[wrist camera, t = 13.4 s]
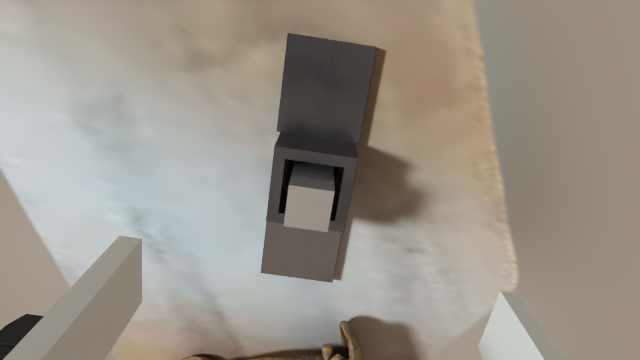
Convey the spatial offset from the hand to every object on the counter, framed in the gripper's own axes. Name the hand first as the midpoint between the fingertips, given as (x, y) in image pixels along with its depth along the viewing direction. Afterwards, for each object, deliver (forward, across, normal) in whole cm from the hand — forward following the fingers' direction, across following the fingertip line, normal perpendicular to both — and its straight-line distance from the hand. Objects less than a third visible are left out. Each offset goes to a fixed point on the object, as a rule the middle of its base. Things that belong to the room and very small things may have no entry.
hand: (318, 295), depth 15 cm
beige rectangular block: (+27, 0, -5) cm, 27 cm away
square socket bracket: (+27, 0, -5) cm, 27 cm away
